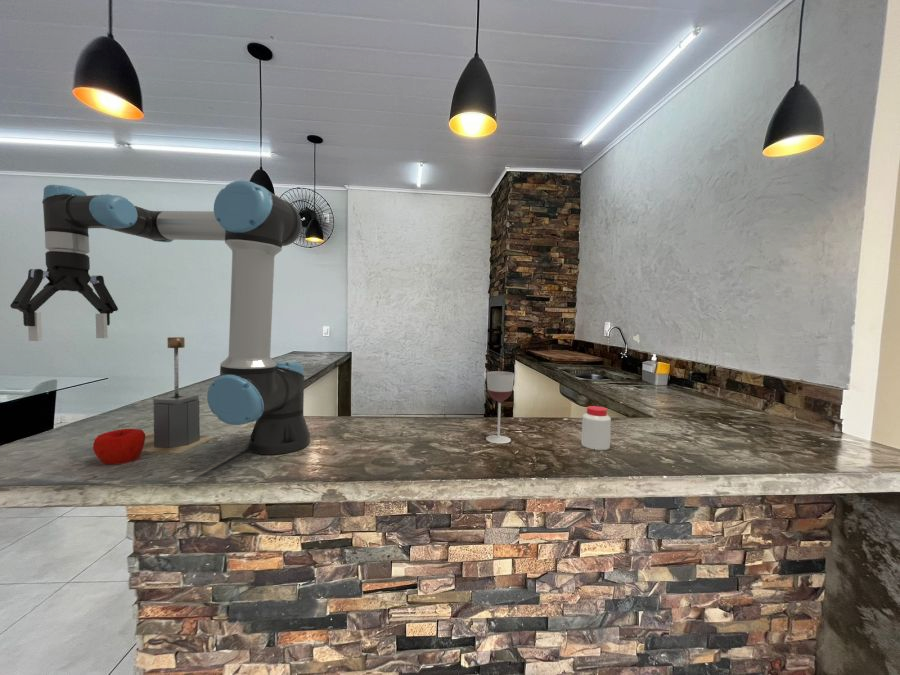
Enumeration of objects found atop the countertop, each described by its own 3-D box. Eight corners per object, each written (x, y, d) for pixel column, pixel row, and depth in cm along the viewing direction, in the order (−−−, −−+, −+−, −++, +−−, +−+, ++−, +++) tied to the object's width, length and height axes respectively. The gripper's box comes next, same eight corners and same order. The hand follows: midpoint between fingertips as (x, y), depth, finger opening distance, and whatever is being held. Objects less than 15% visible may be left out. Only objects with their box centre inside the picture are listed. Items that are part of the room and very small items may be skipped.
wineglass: (516, 438, 113) (518, 372, 112) (504, 445, 105) (506, 376, 104) (492, 433, 117) (494, 370, 116) (479, 440, 110) (481, 373, 109)
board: (216, 440, 104) (216, 436, 104) (178, 458, 91) (178, 453, 91) (143, 436, 105) (143, 432, 105) (96, 452, 93) (96, 448, 92)
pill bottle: (580, 447, 106) (582, 409, 105) (581, 439, 113) (583, 404, 112) (610, 451, 103) (611, 412, 102) (609, 443, 110) (611, 406, 109)
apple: (87, 475, 80) (87, 439, 79) (101, 461, 88) (101, 428, 87) (140, 468, 84) (140, 434, 84) (149, 455, 92) (149, 424, 91)
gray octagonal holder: (213, 434, 105) (212, 392, 105) (179, 448, 93) (178, 401, 93) (181, 432, 106) (181, 391, 105) (144, 446, 94) (143, 400, 94)
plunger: (197, 408, 101) (197, 337, 100) (178, 415, 95) (177, 338, 94) (175, 407, 102) (174, 336, 101) (154, 413, 95) (153, 337, 94)
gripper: (111, 261, 103) (113, 336, 104) (-17, 242, 79) (-12, 341, 80) (133, 260, 102) (135, 337, 103) (9, 241, 78) (14, 342, 79)
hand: (71, 339), depth 92 cm, fingers open, 13 cm apart
